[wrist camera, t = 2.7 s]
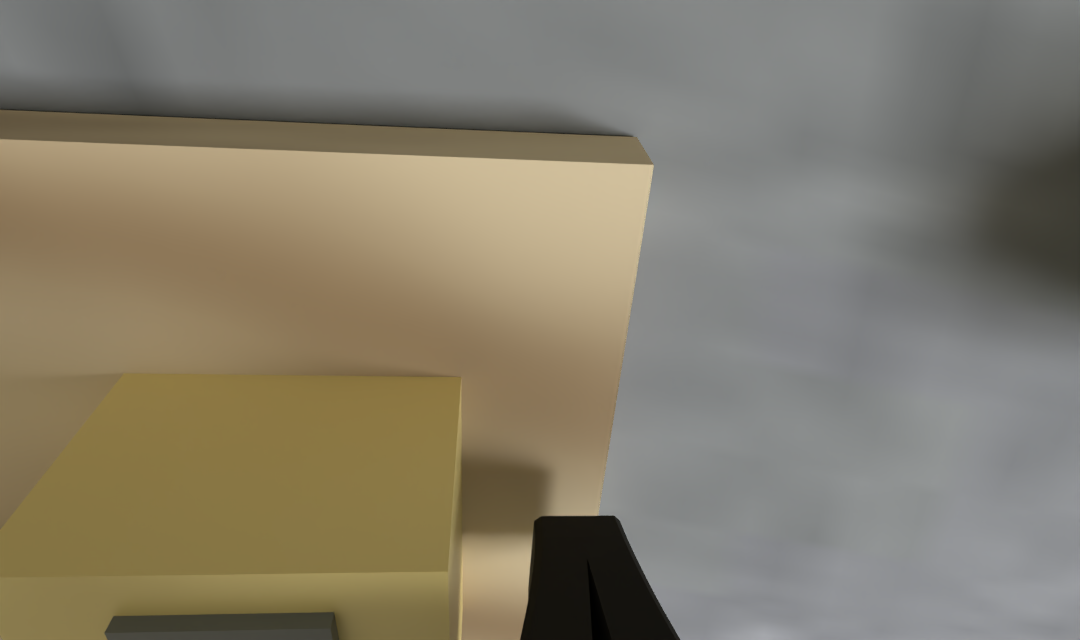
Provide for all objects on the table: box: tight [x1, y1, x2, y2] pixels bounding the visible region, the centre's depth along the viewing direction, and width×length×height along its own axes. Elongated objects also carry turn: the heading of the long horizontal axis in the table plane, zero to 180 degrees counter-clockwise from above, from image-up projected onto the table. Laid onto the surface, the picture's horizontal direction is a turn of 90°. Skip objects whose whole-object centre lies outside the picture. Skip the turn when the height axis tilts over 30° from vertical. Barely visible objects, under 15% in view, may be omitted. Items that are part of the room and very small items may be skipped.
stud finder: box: [0, 373, 463, 640], centre depth 10 cm, size 6×5×4 cm
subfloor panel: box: [0, 110, 654, 640], centre depth 13 cm, size 19×20×1 cm
